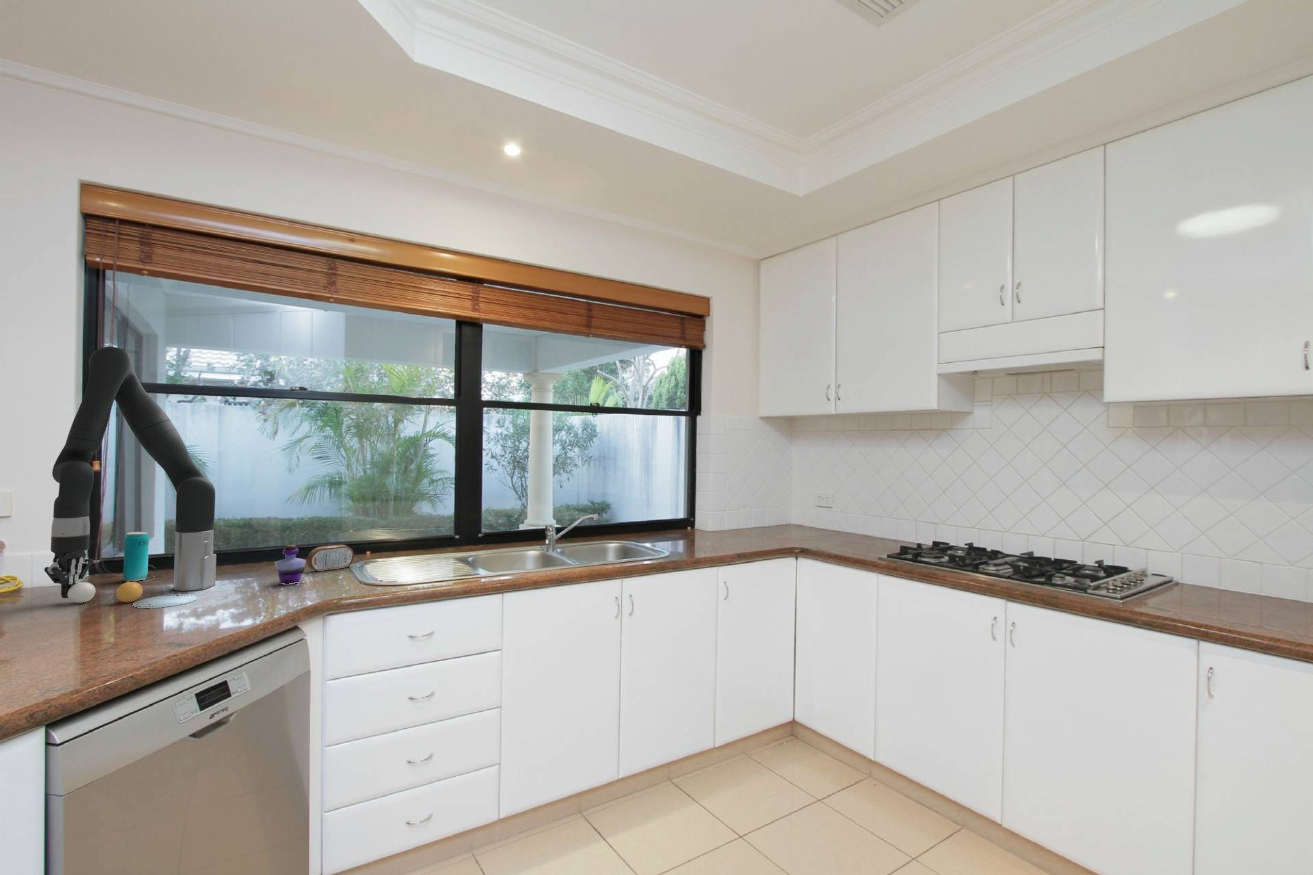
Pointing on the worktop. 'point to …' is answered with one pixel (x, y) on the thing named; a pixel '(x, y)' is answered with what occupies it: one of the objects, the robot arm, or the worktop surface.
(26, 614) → the worktop surface
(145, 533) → the beverage can
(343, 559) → the tin
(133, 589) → the orange ball
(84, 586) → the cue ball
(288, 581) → the potion bottle
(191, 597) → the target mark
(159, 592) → the worktop surface
